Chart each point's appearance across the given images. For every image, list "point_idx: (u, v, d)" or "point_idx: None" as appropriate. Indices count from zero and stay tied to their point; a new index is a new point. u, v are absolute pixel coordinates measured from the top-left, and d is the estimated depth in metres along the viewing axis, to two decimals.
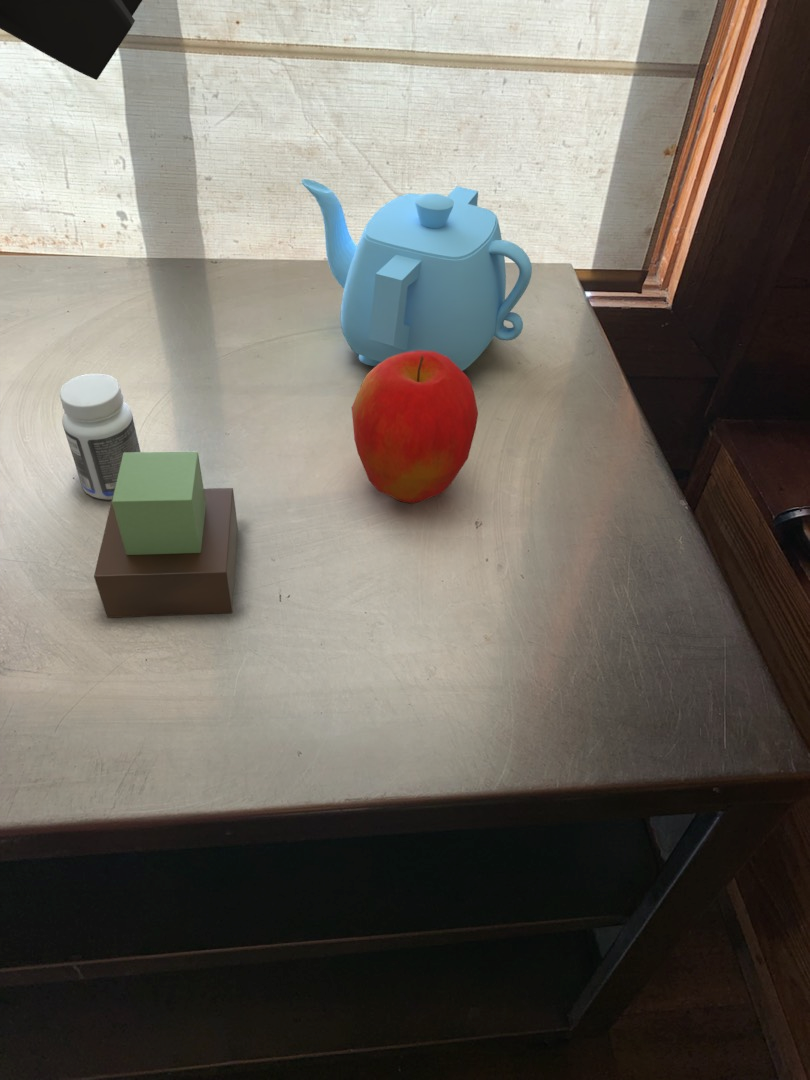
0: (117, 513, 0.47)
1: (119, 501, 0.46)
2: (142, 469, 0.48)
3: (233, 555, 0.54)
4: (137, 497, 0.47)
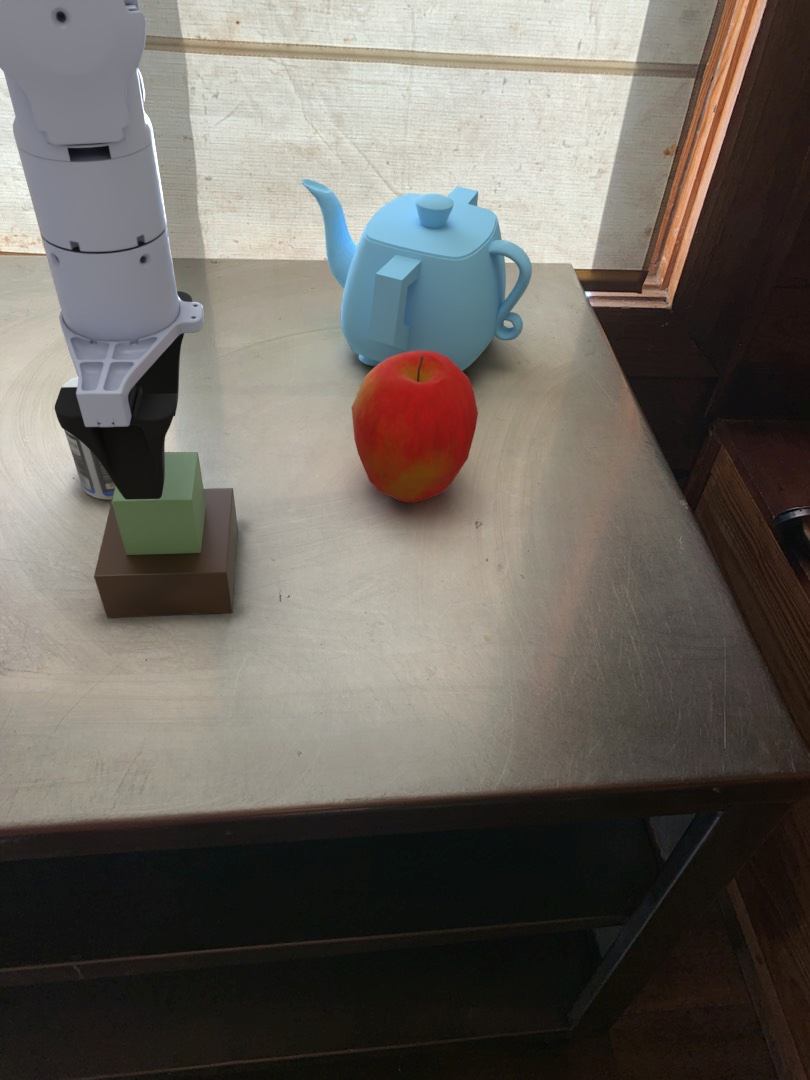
0: (117, 513, 0.47)
1: (119, 501, 0.46)
2: None
3: (233, 555, 0.54)
4: None
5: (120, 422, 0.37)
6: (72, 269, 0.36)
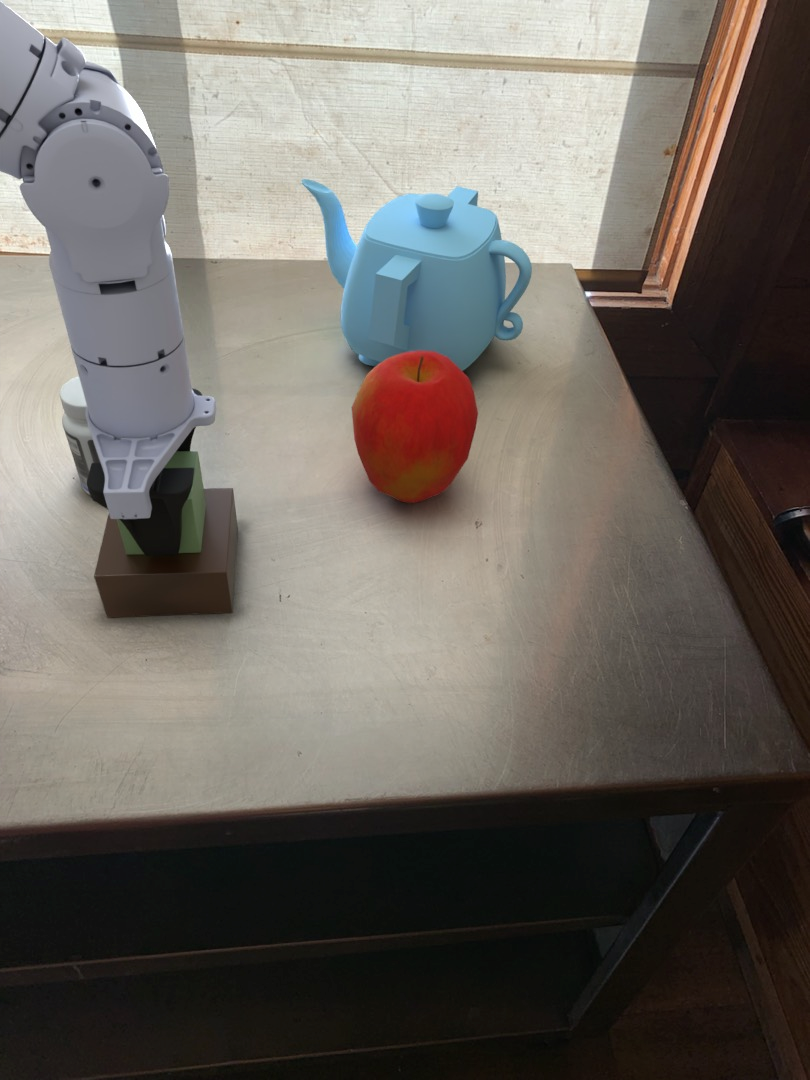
0: None
1: None
2: None
3: (233, 555, 0.54)
4: None
5: (142, 515, 0.41)
6: (99, 379, 0.40)
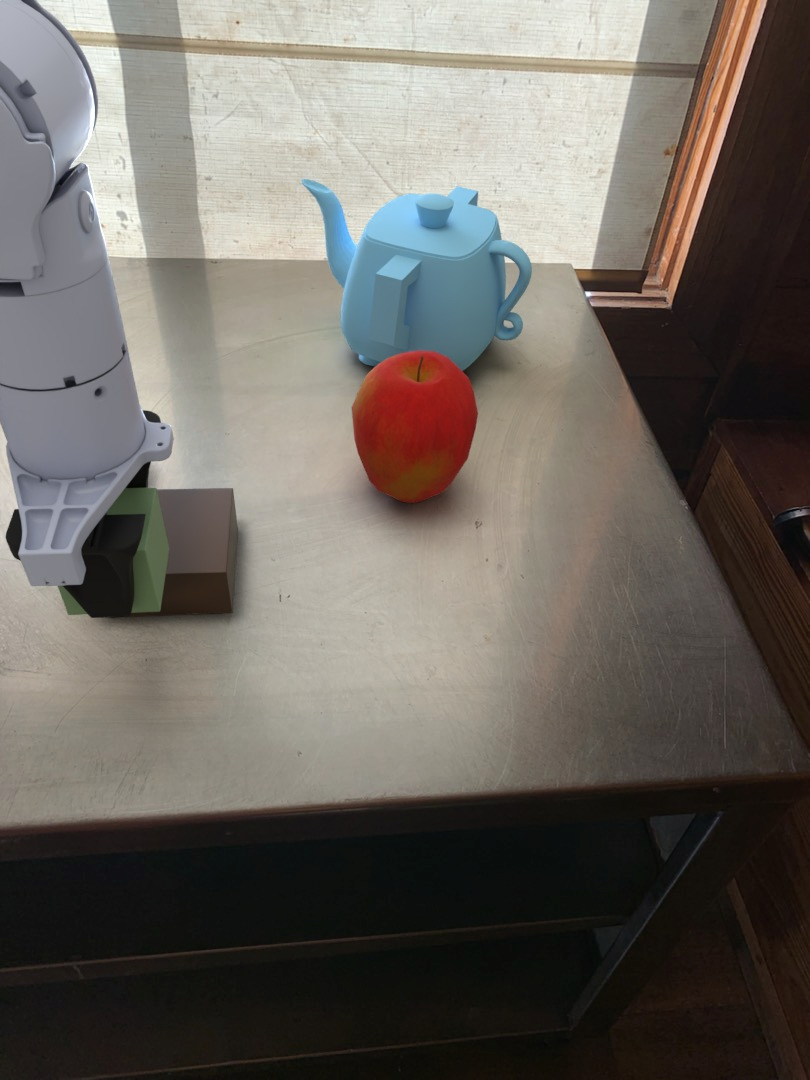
0: None
1: None
2: None
3: (233, 555, 0.54)
4: None
5: (71, 581, 0.32)
6: (15, 406, 0.31)
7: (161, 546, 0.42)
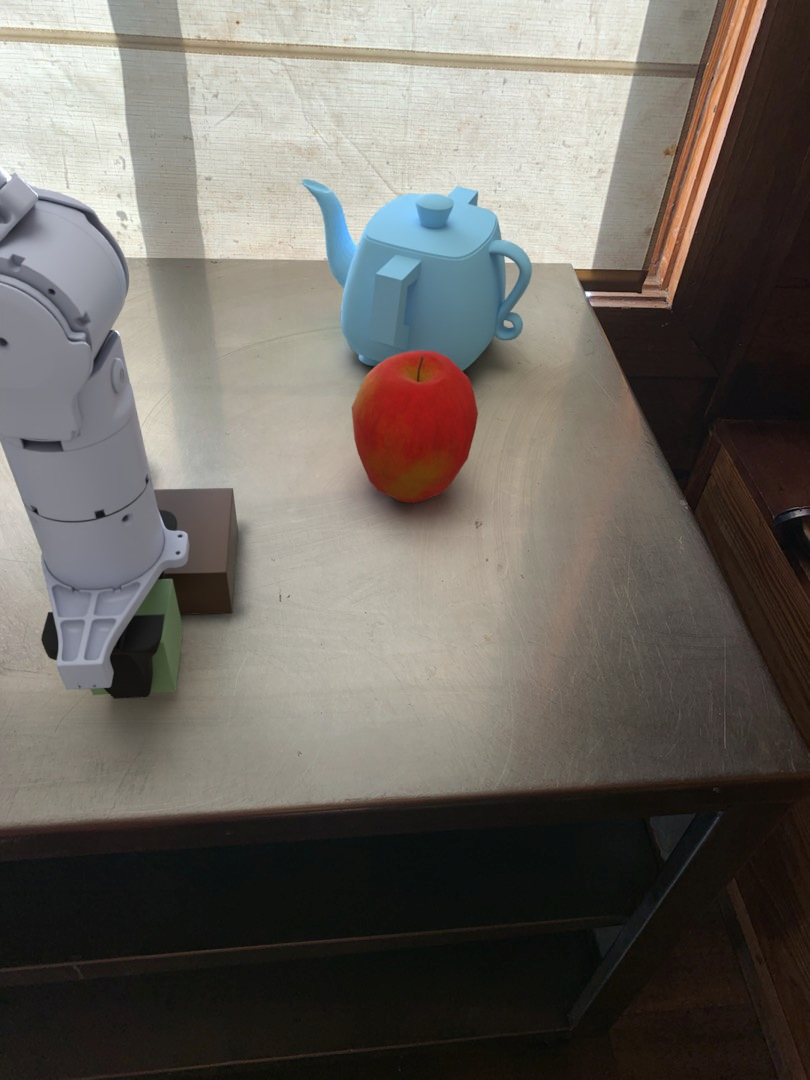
0: None
1: None
2: None
3: (233, 555, 0.54)
4: None
5: (101, 685, 0.36)
6: (52, 533, 0.35)
7: (176, 630, 0.46)
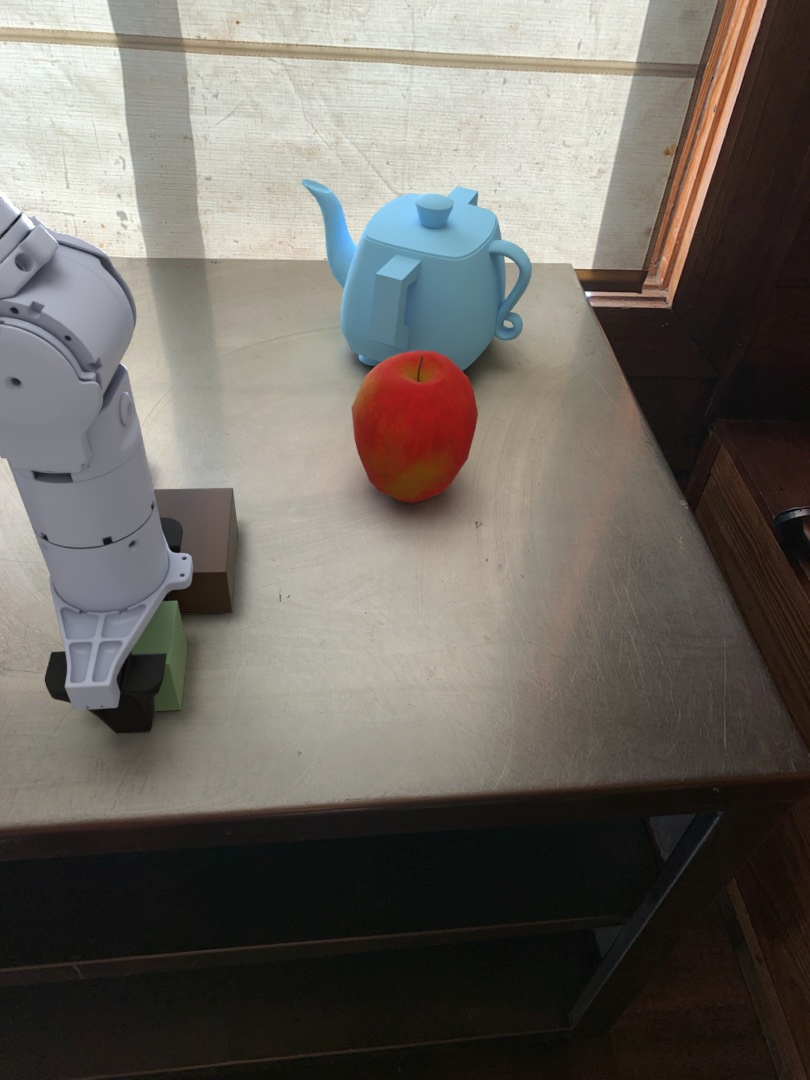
0: None
1: None
2: None
3: (233, 555, 0.54)
4: None
5: (108, 705, 0.37)
6: (61, 558, 0.36)
7: (181, 650, 0.47)
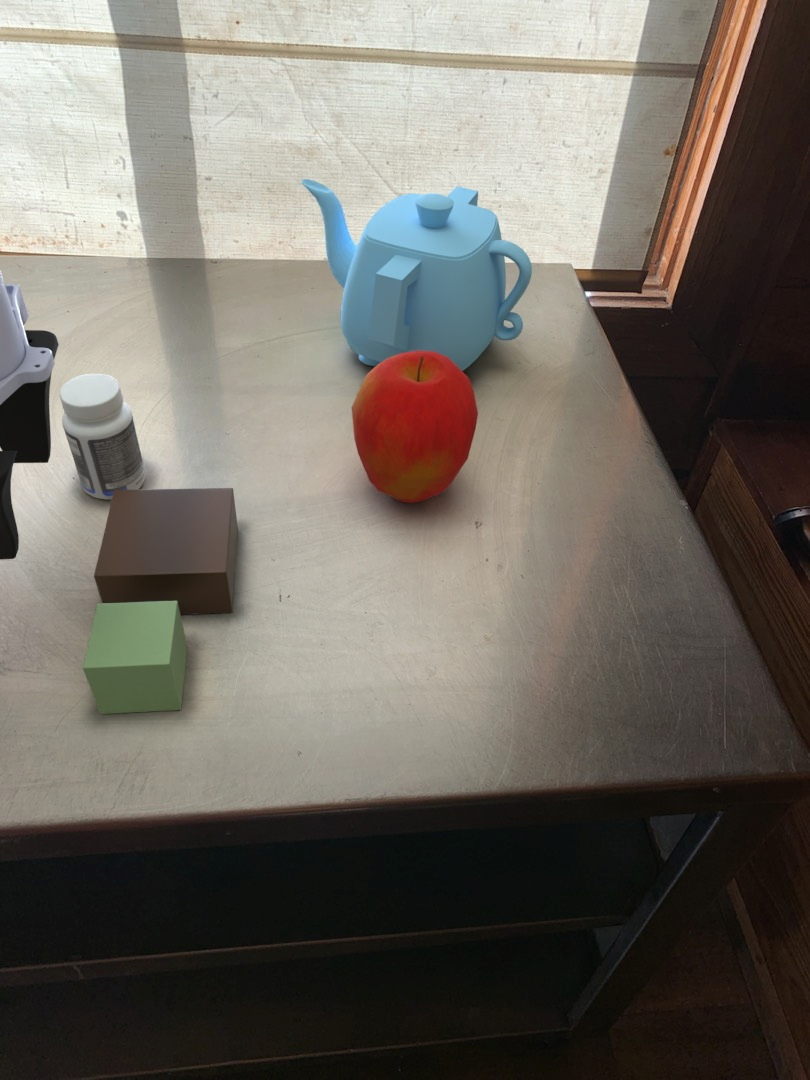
0: (89, 678, 0.43)
1: (90, 667, 0.43)
2: (116, 625, 0.45)
3: (233, 555, 0.54)
4: (110, 662, 0.43)
5: None
6: None
7: (181, 650, 0.47)
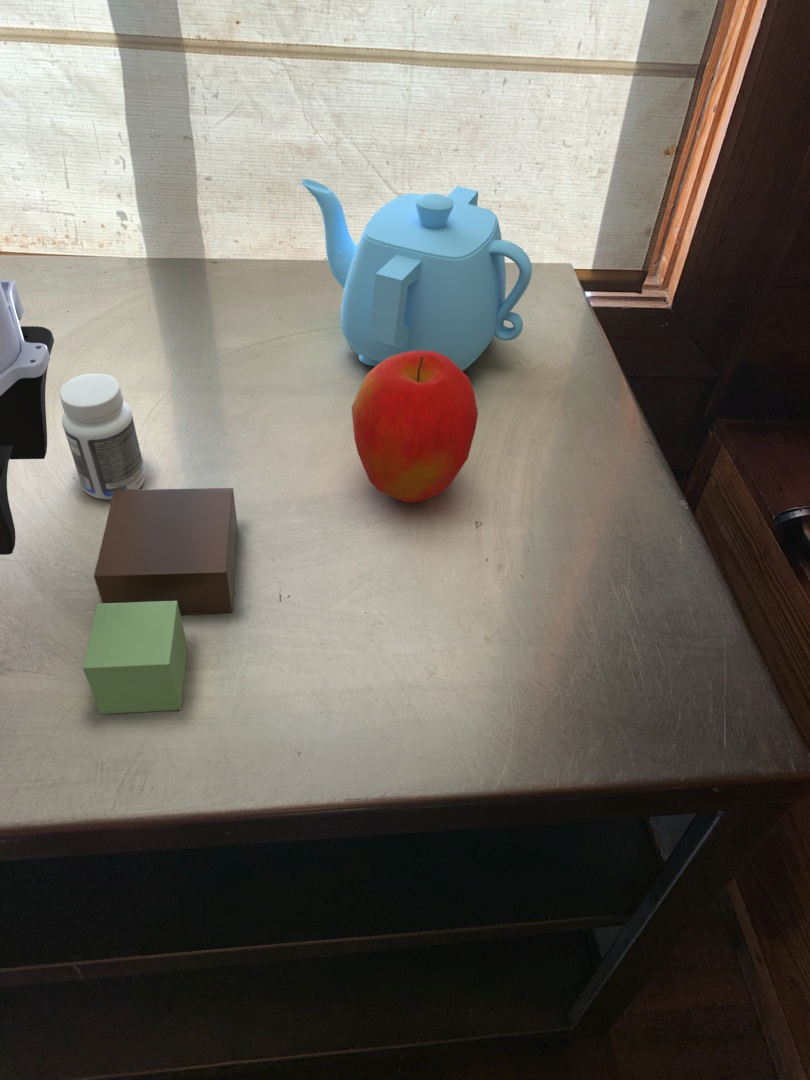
0: (89, 678, 0.43)
1: (90, 667, 0.43)
2: (116, 625, 0.45)
3: (233, 555, 0.54)
4: (110, 662, 0.43)
5: None
6: None
7: (181, 650, 0.47)
